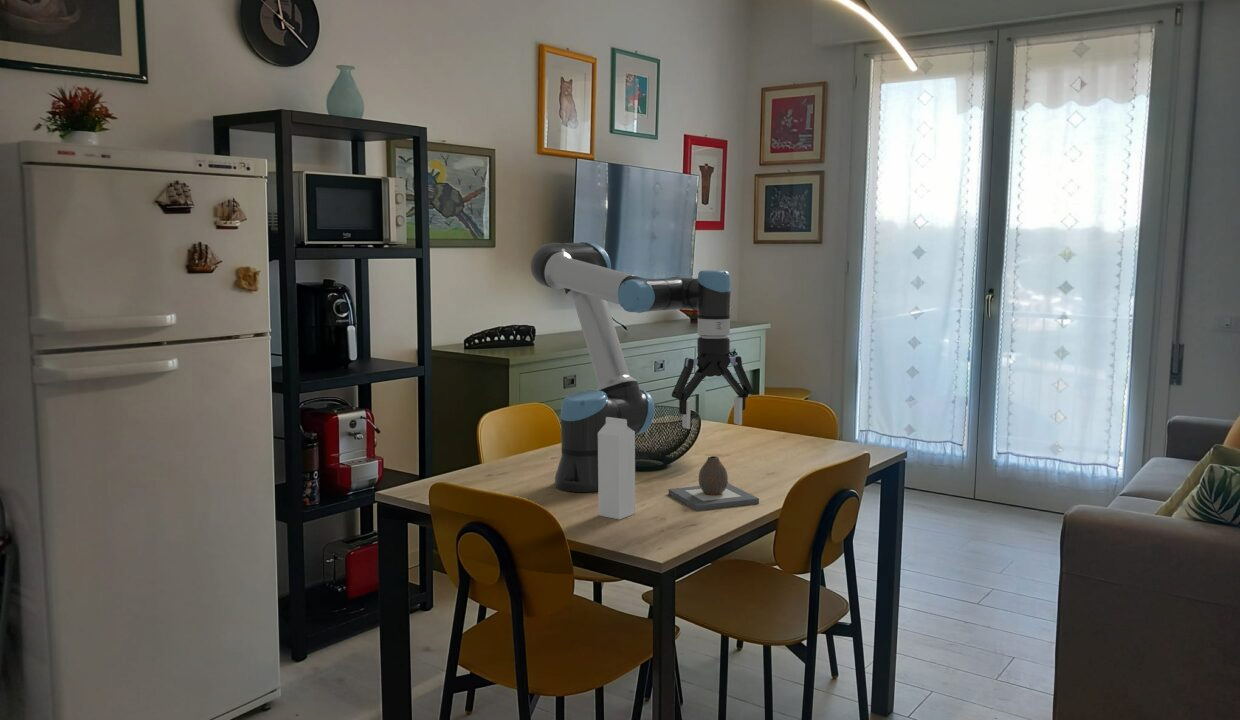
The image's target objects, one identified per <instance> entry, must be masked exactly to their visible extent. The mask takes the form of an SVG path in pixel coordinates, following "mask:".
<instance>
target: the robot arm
mask: <svg viewBox="0 0 1240 720" xmlns="http://www.w3.org/2000/svg"><path fill="white" fill-rule="evenodd" d="M529 267H530V272H531V275H532V277H533V278H534V280H535V281H536V282H537V283H538V284H540V285H541V286H544V287H547V288H551V289H554V290H561V289H564V293H565V297H566V298H567V299H568V300H570V301H573V304H574V307H575V310H576V312H577V317H578V320H579V324H580V327H581V330H582V334H583V337H584V341H585V343H586V344H585V345H586V347H587V351H588V354H589V358H590V360H591V364H592V368H593V370H594V371H593V372H594V373H595V378H596V382H597V384H598V386H597V387H596V390H595V389H593V390H585V391H584V390H581V391H577V392H572V393H570V394H567V395H566V396H565V397H564V398H563V399H562V400H561V405H560V412H559V413H560V414H559V417H560V430H561V432H560V434H561V435H560V436H561V437H560V438H561V441H560V443H561V445H560V446H561V455H560V458H559V459H560V460H559V463H558V466H557V470H556V471H555V476H554V486H555V488H556V489H559V490H560V491H565V492H576V493H593V492H598V432H599V431H600V430H601V428H602V427H603V426H604V425H605V424H606V417H612V418H619V419H626V420H627V427H629V428H630V429H632V430H633V431H635V436H637V435H640V434H643V433H645V432H646V431H648V430H649V428H650V427H651V426H652V422H653V420H654V418H655V411H656V410H655V404H654V400H653V398H652V395H651V394H650V393H648V392H647V391H646V390H644V389H640V386H639V383H638V380H637V379H636V378H633V376H630V373H629V370H628V366H627V363H626V360H625V356H624V353H623V349H622V346H621V342H620V339H619V336H618V334H617V330H616V329H617V328H616V326H615V323H614V319H613V317H612V312H611V309H610V307H609V303H608V302H610V303H614V304H617V305H620V307H621V308H622V309H623V310H624V311H626V312H628V313H636V314H637V313H638V314H641V313H642V314H643V313H645V312H646V313H647V312H648V313H649V312H661V311H675V310H676V311H677V310H689V311H690V310H691V311H693V310H694V311H697V335H698V336H699V337H698V338H697V340H696V341H697V347H696V348H697V357H696V358H690V357H685V358H684V364H683V368H682V371H681V373H680V375H679V377H678V379H677V381H676V384H675V386H674V388H673V390H672V392H671V397H672V398H674V399H677V400H678V403H679V405H678V406H679V407H678V412H679V414H680V415H682V420H681V421H682V422H681V423H682V424H681V425H682V428H684V429H686V430H690V429H691V401H690V400H689V398H690V396H692V394H693V392H695V390H696V389H697V387H698V386H699V385H700V383H701V382H702V381H703V380H704V379H705V378H706V377H709V378H711V377H715V376H716V377H721V376H722V377H723V378H724V380H726V382H727V383H728V384H729V386H730V387H731V389H732V390H733V391H734V392H735V393H736V395H734V398H733V401H734V402H733V423H734V424H735V425H738V426H742V424H743V411H745V410H746V398H748V397H749V395H752V394H754V389H753V388H752V385H751V382H750V381H749V378H748V376H747V374H746V371H745V370H744V367H743V363H742V362H743V361H742V357H741V356H740V355H732V356H730V355H729V354H730V346H731V345H730V343H731V342H730V341H731V340H730V338H729V337H728V336H730V332H731V331H730V329H731V327H730V326H731V314H730V310H731V309H730V308H731V291H732V287H731V286H732V285H731V274H730V272H728V271H727V270H723V269H722V270H719V269H718V270H717V269H716V270H713V269H711V270H709V269H708V270H706V269H705V270H703V269H702V270H700V271H699V272H698V273H697V274H698V275H697V277H696V278H691V277H680V276H672V277H666V278H665V277H663V278H644V277H640V276H637V275H633V274H631V273H630V274H629V273H627V272H622V271H619V270H615V269H612V263H611V259H610V256H609V255H608V252H607V251H606V250H605V249H604V248H603V246H601V245H599V244H597V243H591V242H590V243H589V242H586V241H582V242H551V243H545V244H543V245H542V246H540V247H539V248H537V250H536V251H535V252H534V253H533V255H532V257H531V260H530V266H529ZM730 364H731V366H732V367H733V369H734V372H735V374H736V377H737V378H738V381H739V382H738V381H737V380H736V379H735V377H734V376H733V374H732V372H731V371H730V369H729V366H730ZM696 366H697V370H696V371H695V372H694V375H693V376H692V378H691V374H692V373H693V369H694V368H695V367H696ZM690 378H691V379H690ZM689 379H690V380H689ZM688 381H689V382H688Z"/></svg>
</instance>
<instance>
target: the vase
mask: <svg viewBox="0 0 1240 720" xmlns="http://www.w3.org/2000/svg"><path fill="white" fill-rule="evenodd" d="M728 479H729V477H728V472H727V469H726V467H725V466H724V465H723V463H722V461H720V458H719V456H715V455H712V456H708V457H707V459H706V461H705V462H704V464H702V466H701V467H700V469H699V472H698V486H700V488H701V490H702V491H703V492H704V493H705V494H707V495H720V494H722V493H723V492H724V490H725V489H726V487H727V483H728ZM728 484H729V483H728Z"/></svg>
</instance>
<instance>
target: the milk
mask: <svg viewBox="0 0 1240 720" xmlns="http://www.w3.org/2000/svg"><path fill="white" fill-rule="evenodd" d="M597 493H598V494H597V495H598V497H597V498H598V501H597V502H598V516H601V517H605V518H609V519H615V520H618V521H620V520H622V519H625V518H628V517H631V516H633V515H635V514H636V435H635V431H633V430H632V429H630V428H629V427H627V420H626V419H619V418H612V417H606V424H605V425H604V426H603V427H602V428H601V430H600V431H599V432H598V491H597Z"/></svg>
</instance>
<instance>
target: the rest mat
mask: <svg viewBox="0 0 1240 720" xmlns="http://www.w3.org/2000/svg"><path fill="white" fill-rule="evenodd" d="M668 495H670V496H671V497H673V498H675V500H678V501H680V502H681V503H683V504H685V505H686V506H688V507H690V508H692V509H693V510H695V511H697V512H698V511H705V510H715V509H721V508H730V507H739V506H740V507H741V506H748V505H756V504H759V503H760V498H759V497H757V496H755V495H753V494H752V493H751V494H750V493H749V492H747V491H745V490H743V489H741V488H739V487H737V486H734V485H733V484H730V483H727V487H726V489H725V490H724V492H723V493H722V494H720V495H707V494H705V493H704V492H703V491H702V490H701V488H700V485H697V486H696V485H694V486H687V487H686V486H685V487H675V488H674V487H673V488H668Z"/></svg>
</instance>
